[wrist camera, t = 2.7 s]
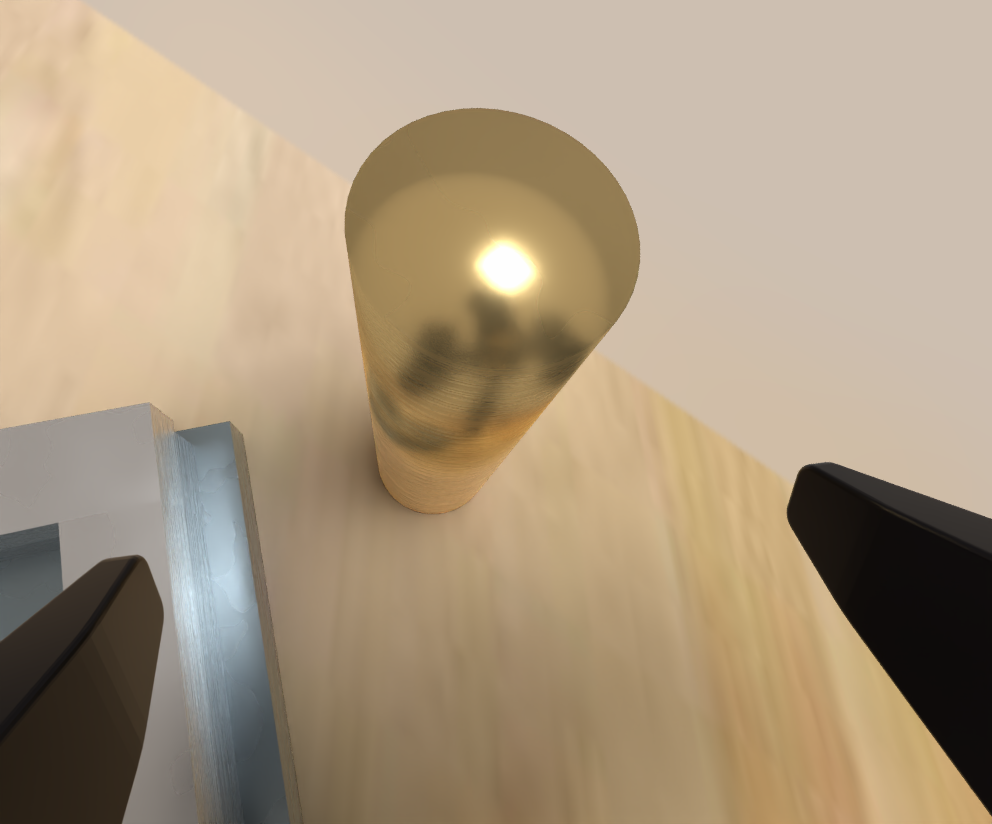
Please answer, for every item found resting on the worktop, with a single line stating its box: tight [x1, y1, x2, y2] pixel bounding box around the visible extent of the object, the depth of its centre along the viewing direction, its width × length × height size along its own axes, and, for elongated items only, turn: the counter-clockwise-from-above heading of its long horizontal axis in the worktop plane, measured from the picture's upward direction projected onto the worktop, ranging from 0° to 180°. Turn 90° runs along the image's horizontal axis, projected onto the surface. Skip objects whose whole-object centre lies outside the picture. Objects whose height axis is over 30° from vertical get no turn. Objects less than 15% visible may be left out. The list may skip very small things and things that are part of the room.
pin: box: [345, 108, 640, 514], centre depth 13 cm, size 4×4×12 cm
